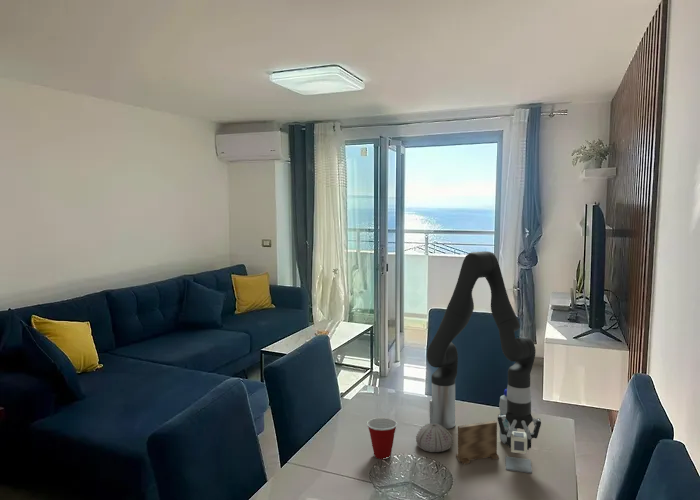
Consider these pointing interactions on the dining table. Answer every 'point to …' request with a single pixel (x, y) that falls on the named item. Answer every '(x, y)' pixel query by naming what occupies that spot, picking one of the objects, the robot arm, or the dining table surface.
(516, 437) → the white marker cube
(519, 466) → the slate coaster
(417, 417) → the dining table surface
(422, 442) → the sea urchin shell
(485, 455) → the walnut screen
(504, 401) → the bottle
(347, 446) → the dining table surface
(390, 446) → the plastic cup
